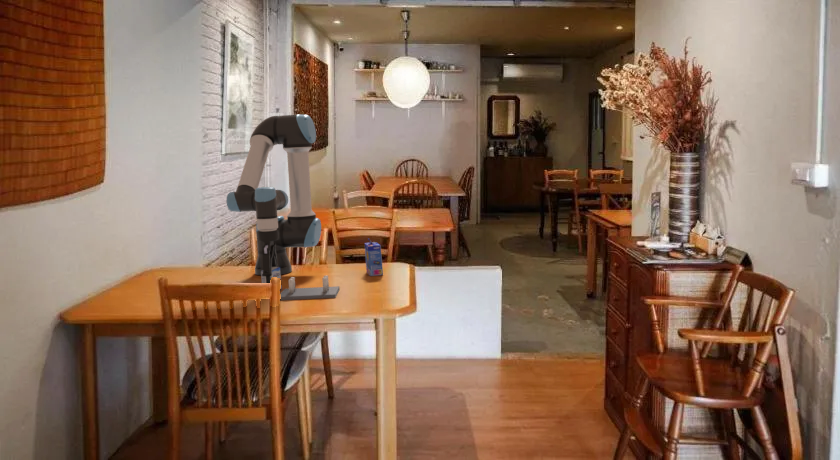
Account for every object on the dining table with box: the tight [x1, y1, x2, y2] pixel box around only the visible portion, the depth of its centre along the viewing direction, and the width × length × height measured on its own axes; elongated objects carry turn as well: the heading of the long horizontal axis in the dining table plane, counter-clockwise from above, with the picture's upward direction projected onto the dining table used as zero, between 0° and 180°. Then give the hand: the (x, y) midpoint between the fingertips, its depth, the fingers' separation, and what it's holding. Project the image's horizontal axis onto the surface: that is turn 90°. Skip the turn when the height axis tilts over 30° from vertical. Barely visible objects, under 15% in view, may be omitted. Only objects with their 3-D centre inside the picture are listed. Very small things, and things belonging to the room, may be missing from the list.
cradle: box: [280, 275, 340, 301], centre depth 277 cm, size 14×20×6 cm
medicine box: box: [260, 267, 283, 290], centre depth 286 cm, size 8×4×9 cm, turn 168°
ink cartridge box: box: [363, 238, 384, 277], centre depth 312 cm, size 10×6×14 cm, turn 13°
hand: (272, 290), depth 287 cm, fingers closed on medicine box, 8 cm apart
